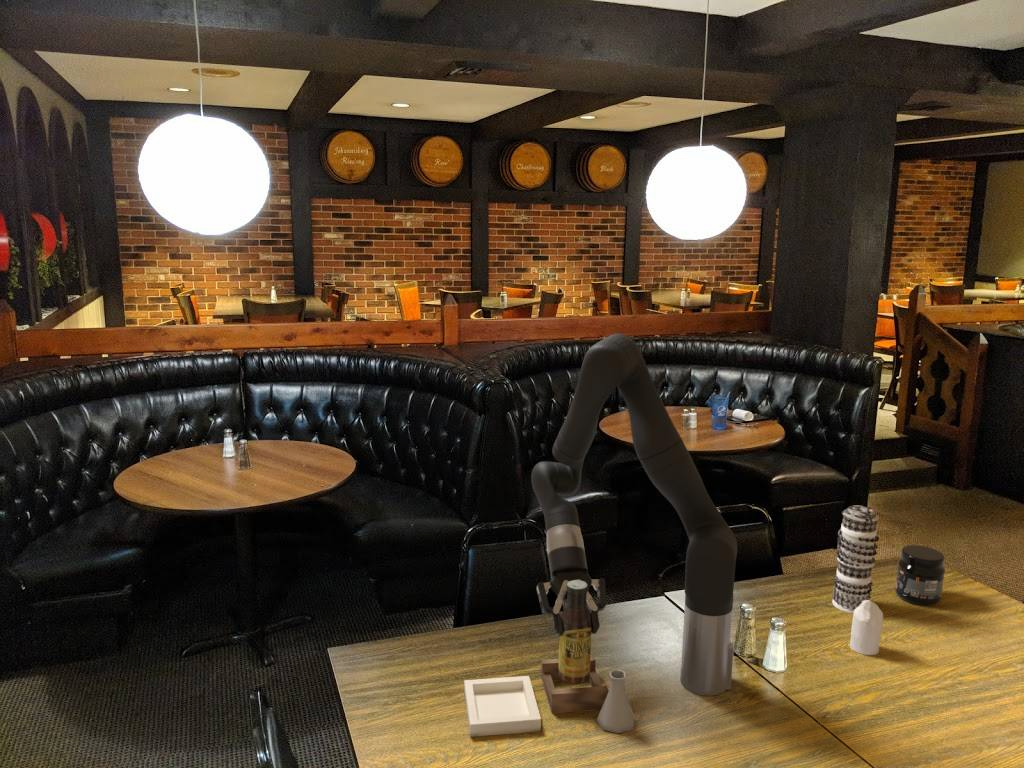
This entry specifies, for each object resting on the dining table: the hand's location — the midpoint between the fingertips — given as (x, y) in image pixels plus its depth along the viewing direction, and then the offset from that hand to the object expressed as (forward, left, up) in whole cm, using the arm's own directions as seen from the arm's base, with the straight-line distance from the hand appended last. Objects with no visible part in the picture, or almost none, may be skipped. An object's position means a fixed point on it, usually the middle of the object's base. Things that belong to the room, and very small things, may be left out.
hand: (577, 633), depth 153 cm
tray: (+15, +3, -14) cm, 21 cm away
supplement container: (-94, -30, -14) cm, 100 cm away
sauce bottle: (0, -2, -11) cm, 11 cm away
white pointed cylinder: (-67, -9, -14) cm, 69 cm away
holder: (0, -1, -14) cm, 14 cm away
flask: (-6, +9, -14) cm, 17 cm away
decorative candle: (-75, -28, -14) cm, 81 cm away
